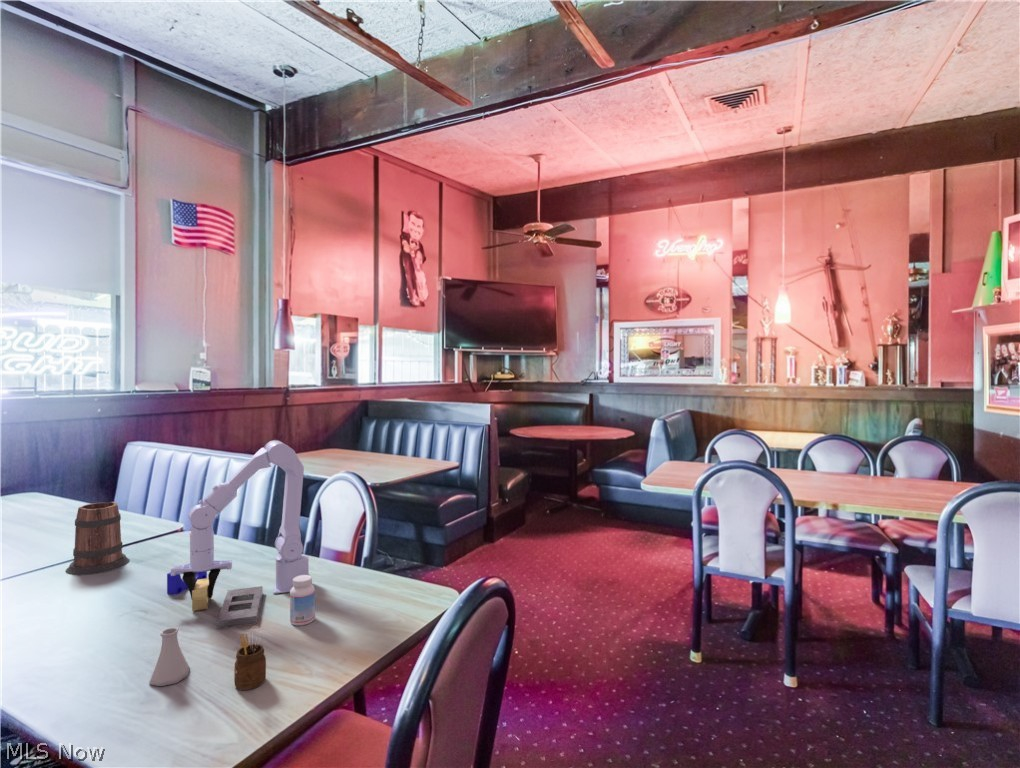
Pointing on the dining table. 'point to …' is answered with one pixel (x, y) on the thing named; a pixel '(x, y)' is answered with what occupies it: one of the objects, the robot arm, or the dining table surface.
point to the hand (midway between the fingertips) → (202, 597)
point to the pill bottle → (302, 600)
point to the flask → (170, 661)
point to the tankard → (97, 540)
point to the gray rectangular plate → (240, 607)
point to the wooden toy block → (200, 594)
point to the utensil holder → (249, 665)
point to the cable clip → (180, 582)
